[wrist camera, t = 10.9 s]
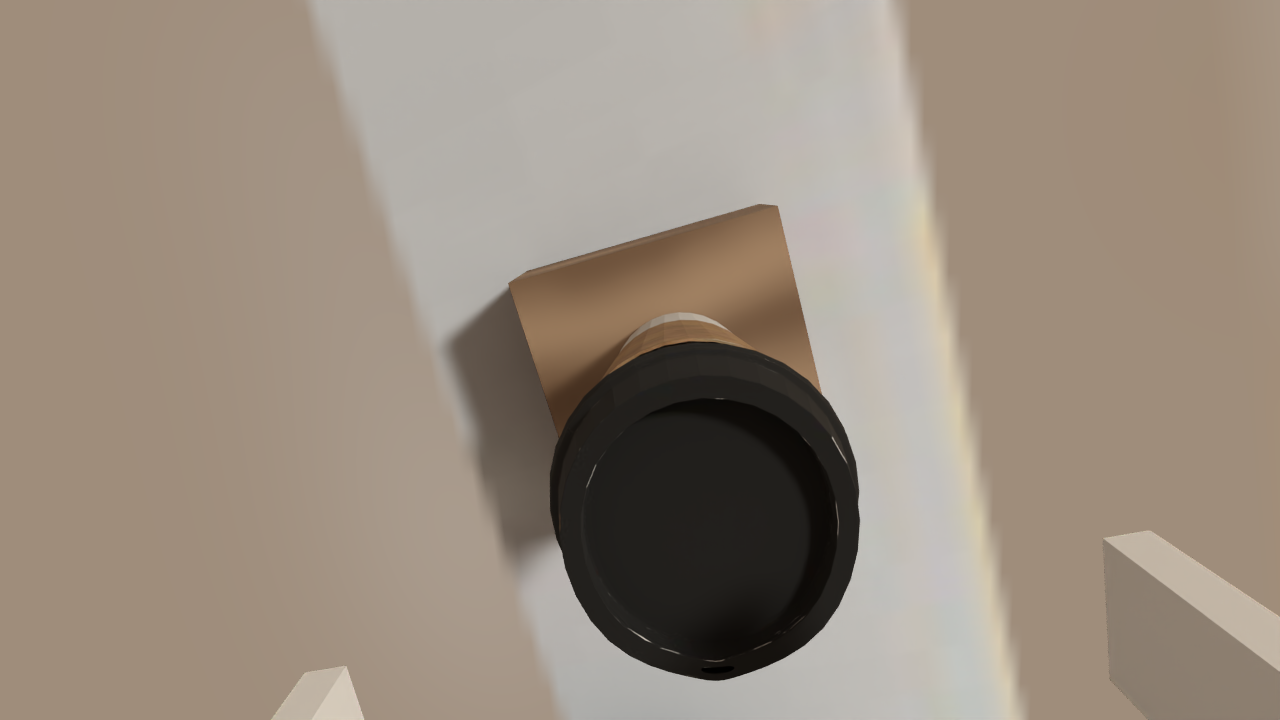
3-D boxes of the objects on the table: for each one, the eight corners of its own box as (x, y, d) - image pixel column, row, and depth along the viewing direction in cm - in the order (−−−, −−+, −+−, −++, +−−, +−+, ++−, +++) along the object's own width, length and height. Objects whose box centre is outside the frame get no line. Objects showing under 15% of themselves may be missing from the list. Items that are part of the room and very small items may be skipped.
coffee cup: (596, 471, 32) (553, 700, 18) (578, 289, 30) (514, 379, 16) (778, 459, 32) (886, 681, 17) (772, 275, 30) (889, 352, 16)
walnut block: (812, 427, 37) (837, 462, 32) (596, 484, 38) (588, 527, 33) (759, 204, 34) (777, 205, 29) (527, 271, 35) (508, 283, 30)
